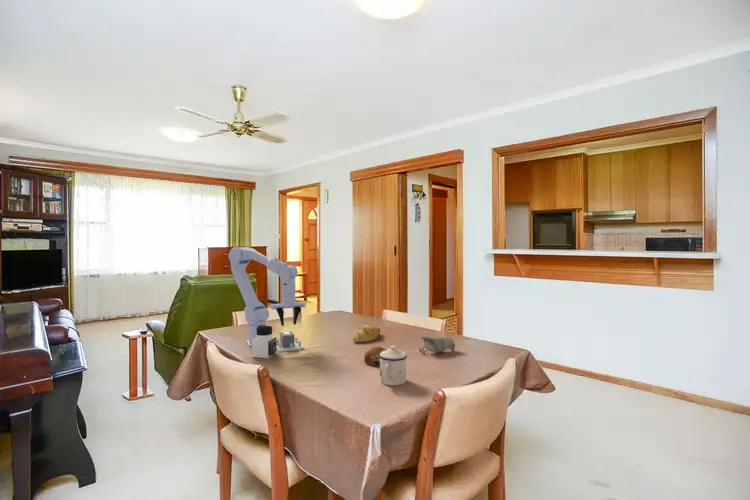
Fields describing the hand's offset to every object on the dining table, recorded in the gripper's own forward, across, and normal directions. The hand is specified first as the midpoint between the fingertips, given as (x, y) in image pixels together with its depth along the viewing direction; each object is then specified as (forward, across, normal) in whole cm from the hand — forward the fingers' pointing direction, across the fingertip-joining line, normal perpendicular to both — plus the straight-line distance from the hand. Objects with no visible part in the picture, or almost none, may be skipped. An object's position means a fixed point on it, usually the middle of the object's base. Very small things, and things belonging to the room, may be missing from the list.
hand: (288, 324), depth 170 cm
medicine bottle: (+10, -12, -8) cm, 17 cm away
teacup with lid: (+10, +22, -56) cm, 60 cm away
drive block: (+9, -1, 0) cm, 9 cm away
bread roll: (+10, +26, -34) cm, 44 cm away
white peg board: (+10, 0, 0) cm, 10 cm away
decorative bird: (+10, +55, -33) cm, 65 cm away
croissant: (+10, +37, 0) cm, 38 cm away
